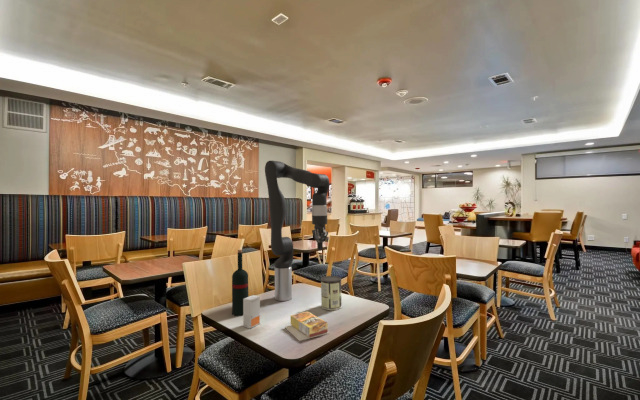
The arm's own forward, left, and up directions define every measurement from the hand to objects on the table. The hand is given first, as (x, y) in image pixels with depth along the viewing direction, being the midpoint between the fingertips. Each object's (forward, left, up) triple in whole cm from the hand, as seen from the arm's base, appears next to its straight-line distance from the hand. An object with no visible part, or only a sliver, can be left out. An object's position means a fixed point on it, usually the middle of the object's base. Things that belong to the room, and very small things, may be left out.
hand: (320, 249), depth 149 cm
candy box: (+10, -17, -26) cm, 33 cm away
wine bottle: (-16, -35, -29) cm, 48 cm away
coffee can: (0, +6, -29) cm, 30 cm away
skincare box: (+2, -35, -29) cm, 46 cm away
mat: (+18, -17, -29) cm, 38 cm away
